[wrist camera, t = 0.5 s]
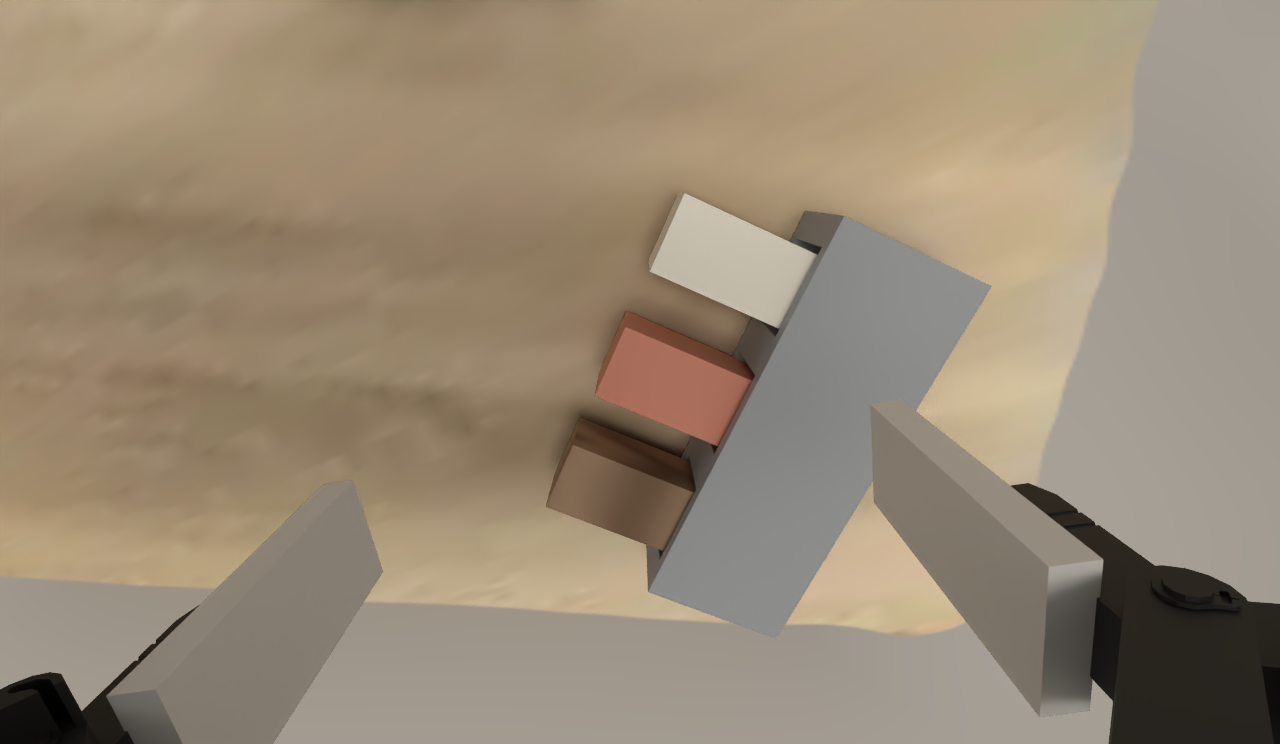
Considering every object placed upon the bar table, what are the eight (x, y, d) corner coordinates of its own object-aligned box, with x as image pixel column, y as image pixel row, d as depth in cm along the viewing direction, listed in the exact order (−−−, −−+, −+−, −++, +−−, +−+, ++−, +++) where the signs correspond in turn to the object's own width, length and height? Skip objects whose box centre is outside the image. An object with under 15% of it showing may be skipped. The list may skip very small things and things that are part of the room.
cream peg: (647, 261, 33) (649, 271, 29) (678, 192, 32) (684, 193, 28) (792, 326, 34) (812, 343, 30) (826, 261, 33) (851, 270, 29)
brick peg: (598, 373, 35) (594, 396, 31) (626, 311, 34) (625, 326, 30) (737, 430, 36) (749, 459, 32) (768, 372, 35) (784, 394, 31)
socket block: (645, 528, 39) (648, 591, 33) (805, 210, 34) (844, 216, 27) (754, 569, 40) (776, 638, 34) (927, 268, 35) (991, 286, 28)
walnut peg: (554, 473, 37) (545, 506, 33) (579, 417, 36) (573, 445, 32) (687, 524, 38) (694, 562, 34) (715, 472, 37) (725, 505, 33)
